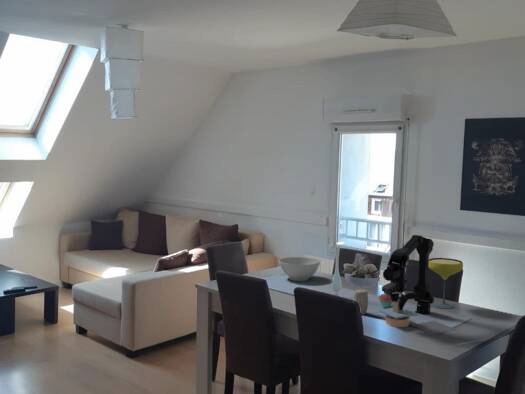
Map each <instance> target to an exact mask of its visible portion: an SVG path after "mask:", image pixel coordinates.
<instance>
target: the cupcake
mask: <svg viewBox="0 0 525 394" xmlns="http://www.w3.org/2000/svg"><path fill="white" fill-rule="evenodd" d="M378 301H379V302H380V305H381V307H382V308H383V309H388V308H392V307H391V306H393V302H392V299H391V297H390V296H389V295H388V294H386V293H382V294H380V295H378Z"/></svg>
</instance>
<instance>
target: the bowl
mask: <svg viewBox="0 0 525 394" xmlns="http://www.w3.org/2000/svg"><path fill="white" fill-rule="evenodd" d="M410 321H411V316H410V317H404V318H398V319H396V318H393V317H391V316H388V315H386V314H385V323H386V324H387V325H388V326H390V327H396V328H405V327H406V328H407V327H408V326H410V325H411V322H410Z"/></svg>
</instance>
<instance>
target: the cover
mask: <svg viewBox="0 0 525 394" xmlns="http://www.w3.org/2000/svg"><path fill="white" fill-rule="evenodd" d="M378 313H381V314H384V315H385V316H386V315H388V316H391V317H393V318H396V319H398V318H404V317H410V318H411V317H415V316H418V313H416V312H415V311H413V310H409V309H406V308H404V307H403V309H402V310H400V309H399V299H398V300H397V301H393V303H392V307H390V308H383V309H378Z"/></svg>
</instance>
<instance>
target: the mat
mask: <svg viewBox="0 0 525 394" xmlns="http://www.w3.org/2000/svg"><path fill="white" fill-rule="evenodd" d="M411 326H412V327H415V328H417V329H420V330H422V331H425V332H427V333H429V334H432V335H436V334H442V333H448V332H452V331H453V332H454V331H458V329H457V328H453V327H451V326H449V325H447V324H444V323H441V322H438V321H436V320H433V321H427V322H420V323H414V324H411Z"/></svg>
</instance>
